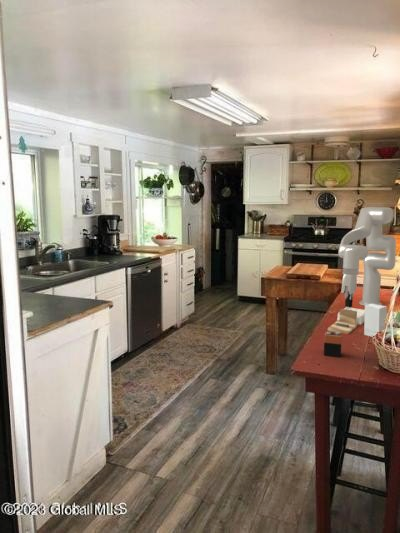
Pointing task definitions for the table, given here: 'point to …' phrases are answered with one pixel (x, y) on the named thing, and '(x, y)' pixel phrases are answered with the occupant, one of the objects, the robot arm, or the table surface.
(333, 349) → the battery
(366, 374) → the table surface
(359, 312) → the box
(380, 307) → the skincare box
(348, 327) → the lid
